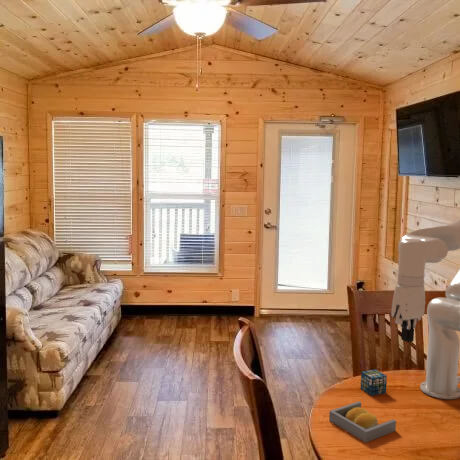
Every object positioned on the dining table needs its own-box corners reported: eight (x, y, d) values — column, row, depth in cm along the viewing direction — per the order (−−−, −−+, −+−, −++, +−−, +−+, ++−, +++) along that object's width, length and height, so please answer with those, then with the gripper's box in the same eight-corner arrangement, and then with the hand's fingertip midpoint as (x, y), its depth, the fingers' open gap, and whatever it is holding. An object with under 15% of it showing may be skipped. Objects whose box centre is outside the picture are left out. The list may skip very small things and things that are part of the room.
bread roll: (362, 434, 142) (363, 420, 141) (341, 420, 149) (341, 407, 149) (384, 427, 146) (385, 414, 145) (362, 414, 153) (362, 401, 153)
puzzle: (386, 393, 168) (387, 375, 167) (371, 396, 166) (372, 378, 165) (374, 386, 173) (375, 369, 173) (360, 388, 171) (360, 371, 170)
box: (358, 410, 155) (358, 401, 155) (395, 430, 143) (396, 420, 143) (329, 420, 149) (329, 410, 148) (365, 442, 137) (366, 432, 137)
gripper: (416, 276, 158) (412, 333, 160) (383, 281, 150) (380, 341, 152) (437, 280, 152) (433, 340, 154) (404, 286, 144) (401, 349, 146)
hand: (407, 340), depth 153 cm, fingers closed
